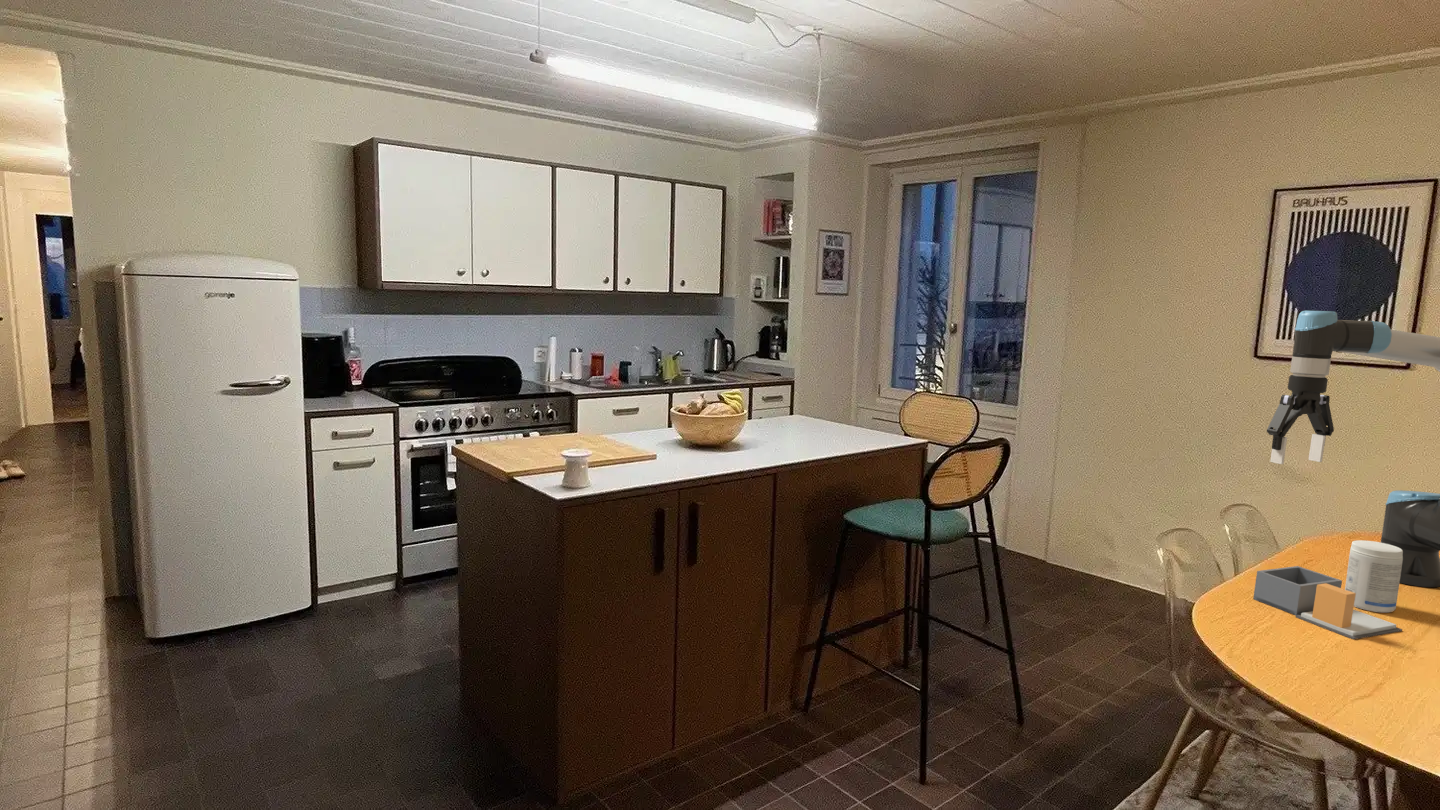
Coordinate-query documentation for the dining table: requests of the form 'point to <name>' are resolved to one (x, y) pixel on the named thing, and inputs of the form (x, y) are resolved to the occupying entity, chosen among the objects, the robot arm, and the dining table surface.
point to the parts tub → (1290, 588)
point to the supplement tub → (1374, 575)
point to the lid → (1343, 612)
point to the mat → (1350, 635)
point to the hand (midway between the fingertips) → (1296, 462)
